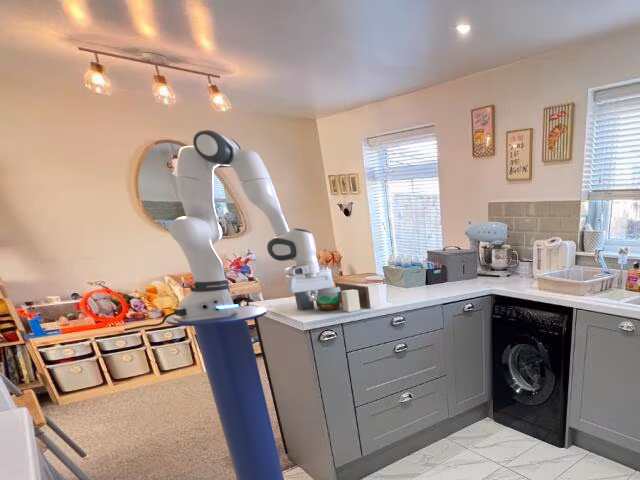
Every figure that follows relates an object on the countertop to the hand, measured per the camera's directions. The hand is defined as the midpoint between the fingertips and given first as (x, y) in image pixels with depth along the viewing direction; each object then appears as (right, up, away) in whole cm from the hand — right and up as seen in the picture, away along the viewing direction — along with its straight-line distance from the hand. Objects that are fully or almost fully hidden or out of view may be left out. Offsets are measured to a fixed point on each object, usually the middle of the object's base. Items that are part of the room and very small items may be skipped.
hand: (313, 300), depth 183 cm
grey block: (-7, -2, +8) cm, 12 cm away
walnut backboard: (+11, +1, +17) cm, 21 cm away
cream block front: (+15, -3, +6) cm, 16 cm away
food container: (+4, -3, +7) cm, 8 cm away
